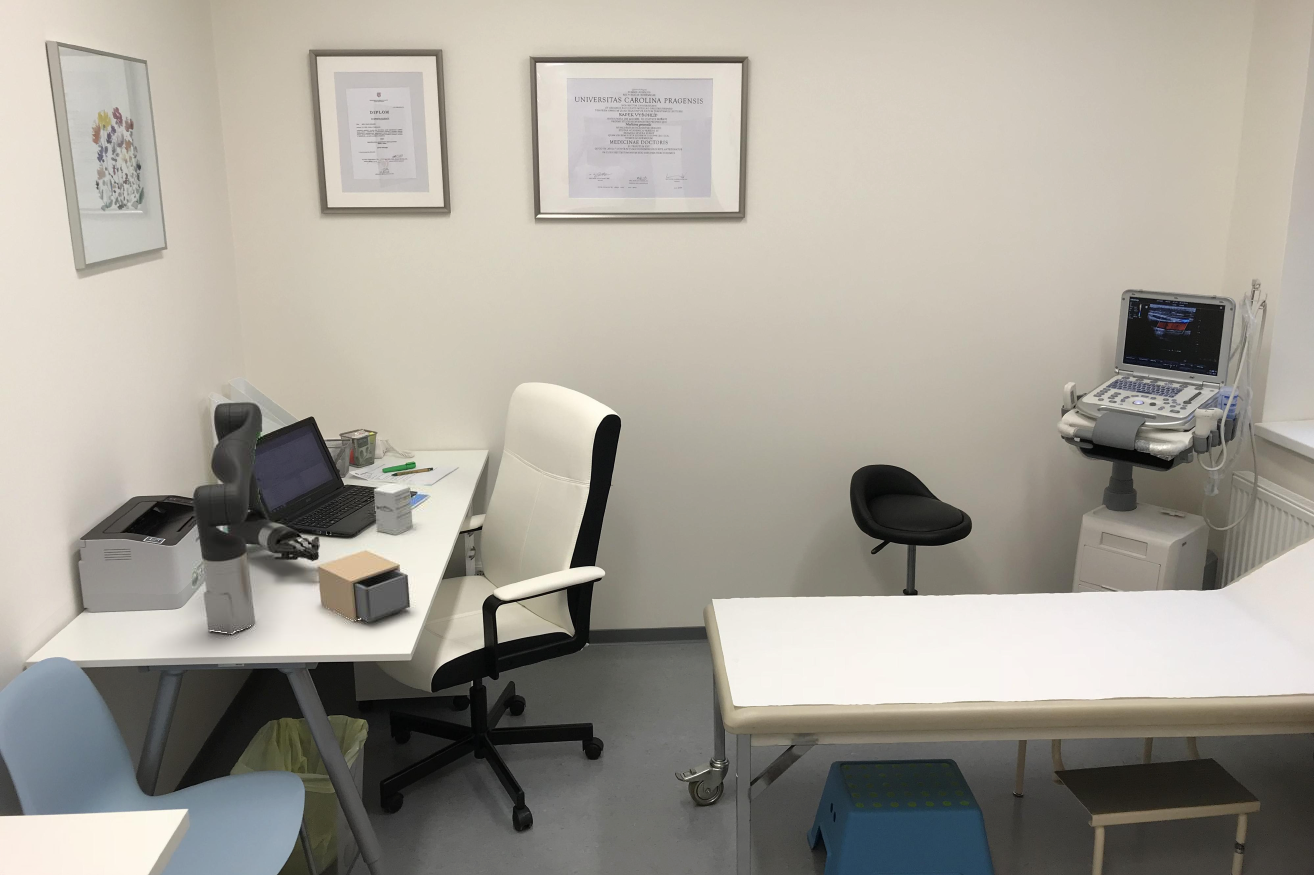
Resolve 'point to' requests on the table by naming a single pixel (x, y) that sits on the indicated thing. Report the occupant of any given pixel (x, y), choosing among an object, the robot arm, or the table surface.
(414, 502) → the tablet computer
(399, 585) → the mailer tray
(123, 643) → the table surface
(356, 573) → the mailer sleeve
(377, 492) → the supplement box
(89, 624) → the table surface
